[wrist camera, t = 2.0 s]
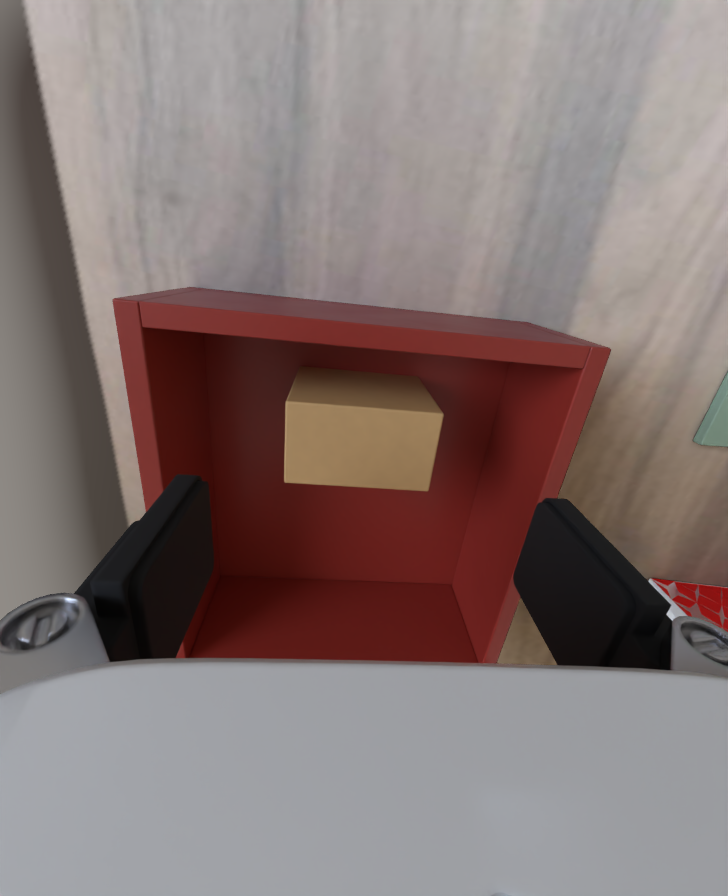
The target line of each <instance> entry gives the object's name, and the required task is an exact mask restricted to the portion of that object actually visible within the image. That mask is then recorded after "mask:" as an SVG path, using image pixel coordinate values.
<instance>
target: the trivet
mask: <svg viewBox="0 0 728 896" xmlns="http://www.w3.org/2000/svg"><path fill="white" fill-rule="evenodd" d="M693 441H694V442H696V443H698V444H700V445H708V446H721V447H728V372H727V374H726V376H725V378H724V380H723V382H722V384H721V386H720V388H719V390H718V392H717V394H716V396H715V398H714V400H713V402H712V404H711V406H710V408H709V410H708V412H707V414H706V416H705V418H704V420H703V422H702V424H701V426H700V428H699V430H698V432H697V433H696V435H695V437H694V439H693Z"/></svg>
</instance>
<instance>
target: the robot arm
mask: <svg viewBox="0 0 728 896" xmlns="http://www.w3.org/2000/svg"><path fill="white" fill-rule="evenodd" d="M213 567H214V550H213V536H212V521H211V507H210V493H209V484H208V482H207V481H202V478H201V476H197V475H182V474H177V475H176V476H175V477H174V479H173V480H172V481H171V482H170V484H169V485H168V486H167V487H166V489H165V490H164V491H163V492H162V493H161V495H160V496H159V497H158V498H157V500H156V501H155V502H154V503H153V505H152V506H151V507H150V508H149V510H148V511H147V512H146V513H145V514H144V516H143V517H142V518H141V519H140V521H135V522H134V523H133V524H132V525H130V527H129V528H128V529H127V530H126V532H125V533H124V534H123V535H122V536H121V538H120V539H119V540H118V541H117V542H116V544H115V545H114V546H113V547H112V548H111V550H110V551H109V552H108V553H107V554H106V556H105V557H104V558H103V559H102V561H101V562H100V563H99V564H98V565H97V566H96V568H95V569H94V570H93V571H92V573H91V574H90V575H89V576H88V577H87V579H86V580H85V581H84V582H83V584H82V585H81V586H80V587H79V588H78V590H77V591H76V592H75V593H74V594H72V593H57V594H50V595H46V596H43V597H39V598H36V599H34V600H32V601H29V602H27V603H25V604H22V605H20V606H19V607H17V608H16V609H14V610H12V611H11V612H9V613H8V614H7V615H6V616H5V617H3V618H2V619H1V620H0V896H728V632H727V631H725V630H724V629H722V628H720V627H718V626H716V625H714V624H712V623H710V622H708V621H705V620H702V619H700V618H696V617H691V616H679V617H677V618H675V619H673V621H672V620H671V619H670V618H669V617H668V616H667V615H666V614H667V612H668V610H669V609H670V607H671V604H670V603H669V602H668V601H667V600H666V599H665V598H664V597H663V596H662V595H661V594H660V593H659V592H658V591H657V590H656V589H655V588H654V587H653V586H652V585H651V584H650V583H649V582H648V581H647V580H646V579H645V578H644V577H643V576H642V575H641V574H640V573H639V572H638V571H637V570H636V568H635V567H634V566H633V565H632V564H631V563H630V562H629V561H628V560H627V559H626V558H625V557H624V556H623V555H622V554H621V553H620V552H619V551H618V550H617V549H616V548H615V547H614V546H613V545H612V544H611V543H610V542H609V541H608V540H607V539H606V538H605V537H604V536H603V535H602V534H601V533H600V532H599V531H598V530H597V529H596V528H595V527H594V526H593V525H592V524H591V523H590V522H589V521H588V520H587V519H586V518H585V517H584V515H583V514H582V513H581V512H580V511H579V510H578V509H577V508H576V507H575V506H574V505H573V504H572V503H571V502H570V501H568V500H567V499H557V498H545V499H544V500H543V501H542V502H540V503H538V504H537V506H536V508H535V511H534V514H533V517H532V520H531V523H530V526H529V529H528V532H527V535H526V538H525V541H524V544H523V547H522V550H521V553H520V556H519V559H518V562H517V565H516V568H515V571H514V574H513V581H514V585H515V587H516V589H517V591H518V593H519V595H520V597H521V598H522V600H523V602H524V604H525V606H526V608H527V609H528V611H529V613H530V615H531V617H532V619H533V621H534V622H535V624H536V626H537V628H538V630H539V632H540V633H541V635H542V637H543V639H544V641H545V643H546V644H547V646H548V648H549V650H550V652H551V654H552V655H553V657H554V659H555V661H556V663H557V665H529V664H496V663H457V662H416V661H373V660H321V659H266V658H176V656H177V653H178V651H179V649H180V646H181V644H182V642H183V639H184V637H185V635H186V632H187V630H188V628H189V625H190V623H191V621H192V619H193V616H194V614H195V612H196V609H197V607H198V605H199V602H200V600H201V598H202V595H203V593H204V591H205V588H206V586H207V584H208V581H209V579H210V577H211V574H212V571H213Z"/></svg>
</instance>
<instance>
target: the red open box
mask: <svg viewBox="0 0 728 896" xmlns="http://www.w3.org/2000/svg"><path fill="white" fill-rule="evenodd" d="M113 306H114V313H115V319H116V325H117V331H118V338H119V344H120V350H121V357H122V363H123V369H124V376H125V382H126V388H127V394H128V401H129V407H130V413H131V420H132V426H133V432H134V438H135V445H136V451H137V457H138V464H139V470H140V476H141V483H142V489H143V495H144V501H145V508H146V512H147V511H148V510H149V508H150V507H151V506H152V505H153V503H154V502H155V501H156V500H157V498H158V497H159V496H160V495H161V493H162V492H163V491H164V490H165V489H166V487H167V486H168V485H169V484H170V482H171V481H172V480H173V479H174V477H175V476H176V475H177V474H182V475H197V476H201V478H202V481H207V482H208V484H209V493H210V507H211V521H212V536H213V550H214V567H213V571H212V574H211V577H210V579H209V581H208V584H207V586H206V588H205V591H204V593H203V595H202V598H201V600H200V602H199V605H198V607H197V609H196V612H195V614H194V616H193V619H192V621H191V623H190V625H189V628H188V630H187V632H186V635H185V637H184V639H183V642H182V644H181V646H180V649H179V651H178V653H177V656H176V658H266V659H321V660H373V661H416V662H457V663H497V660H498V658H499V655H500V652H501V649H502V647H503V644H504V641H505V639H506V636H507V633H508V630H509V628H510V625H511V622H512V619H513V617H514V614H515V611H516V609H517V606H518V603H519V600H520V598H521V597H520V595H519V593H518V591H517V589H516V587H515V585H514V581H513V574H514V571H515V568H516V565H517V562H518V559H519V556H520V553H521V550H522V547H523V544H524V541H525V538H526V535H527V532H528V529H529V526H530V523H531V520H532V517H533V514H534V511H535V508H536V506H537V504H538V503H540V502H542V501H543V500H544V499H545V498H557V497H558V494H559V491H560V489H561V486H562V483H563V480H564V478H565V475H566V472H567V470H568V467H569V464H570V461H571V459H572V456H573V453H574V450H575V448H576V445H577V442H578V440H579V437H580V434H581V431H582V429H583V426H584V423H585V420H586V418H587V415H588V412H589V410H590V407H591V404H592V401H593V399H594V396H595V393H596V390H597V388H598V385H599V382H600V380H601V377H602V374H603V371H604V369H605V366H606V363H607V360H608V358H609V355H610V352H611V349H610V348H608V347H605V346H602V345H598V344H595V343H592V342H589V341H586V340H582V339H579V338H576V337H573V336H569V335H566V334H563V333H560V332H557V331H553V330H550V329H547V328H544V327H541V326H537V325H534V324H531V323H528V322H520V321H510V320H500V319H491V318H481V317H472V316H462V315H453V314H443V313H434V312H424V311H414V310H405V309H395V308H386V307H376V306H367V305H357V304H348V303H338V302H328V301H319V300H309V299H300V298H290V297H281V296H271V295H261V294H252V293H242V292H233V291H223V290H214V289H204V288H195V287H187V288H180V289H173V290H166V291H160V292H153V293H147V294H140V295H134V296H127V297H120V298H114V299H113ZM301 366H304V367H315V368H327V369H338V370H349V371H360V372H372V373H383V374H394V375H405V376H417V377H419V379H420V380H421V382H422V383H423V385H424V386H425V387H426V389H427V390H428V392H429V393H430V395H431V396H432V398H433V399H434V401H435V402H436V403H437V405H438V406H439V408H440V409H441V411H442V412H443V414H444V417H443V422H442V427H441V432H440V437H439V442H438V447H437V452H436V457H435V462H434V467H433V472H432V477H431V482H430V487H429V490H428V491H412V490H395V489H379V488H362V487H346V486H330V485H313V484H297V483H285V482H284V455H285V403H286V400H287V398H288V395H289V393H290V390H291V388H292V385H293V383H294V380H295V378H296V375H297V372H298V370H299V368H300V367H301Z"/></svg>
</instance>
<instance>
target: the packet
mask: <svg viewBox="0 0 728 896" xmlns="http://www.w3.org/2000/svg"><path fill="white" fill-rule="evenodd" d="M443 417H444V414H443V412H442V411H441V409H440V408H439V406H438V405H437V403H436V402H435V401H434V399H433V398H432V396H431V395H430V393H429V392H428V390H427V389H426V387H425V386H424V385H423V383H422V382H421V380H420V379H419V377H417V376H405V375H394V374H383V373H372V372H360V371H349V370H338V369H327V368H315V367H304V366H301V367H300V368H299V370H298V372H297V375H296V378H295V380H294V383H293V385H292V388H291V390H290V393H289V395H288V398H287V400H286V403H285V455H284V482H285V483H297V484H313V485H330V486H346V487H362V488H379V489H395V490H412V491H428V490H429V487H430V482H431V477H432V472H433V467H434V462H435V457H436V452H437V447H438V442H439V437H440V432H441V427H442V422H443Z"/></svg>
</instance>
